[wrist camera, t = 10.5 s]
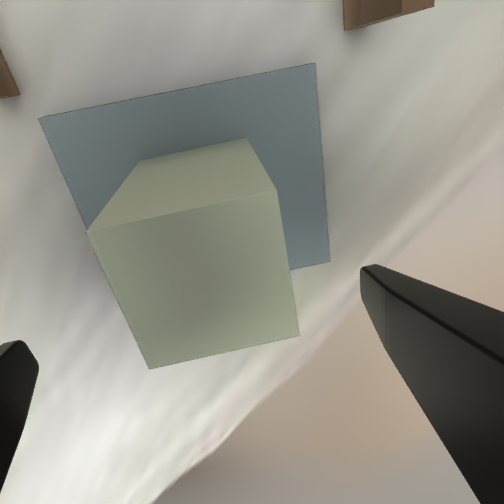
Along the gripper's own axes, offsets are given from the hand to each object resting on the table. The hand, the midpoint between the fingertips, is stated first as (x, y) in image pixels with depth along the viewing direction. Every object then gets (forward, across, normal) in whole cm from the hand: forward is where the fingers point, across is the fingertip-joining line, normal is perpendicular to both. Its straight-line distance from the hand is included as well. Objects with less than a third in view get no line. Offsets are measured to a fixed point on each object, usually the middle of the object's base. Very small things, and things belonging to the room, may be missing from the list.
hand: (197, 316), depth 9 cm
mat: (+10, 0, 0) cm, 10 cm away
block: (+9, 0, 0) cm, 9 cm away
